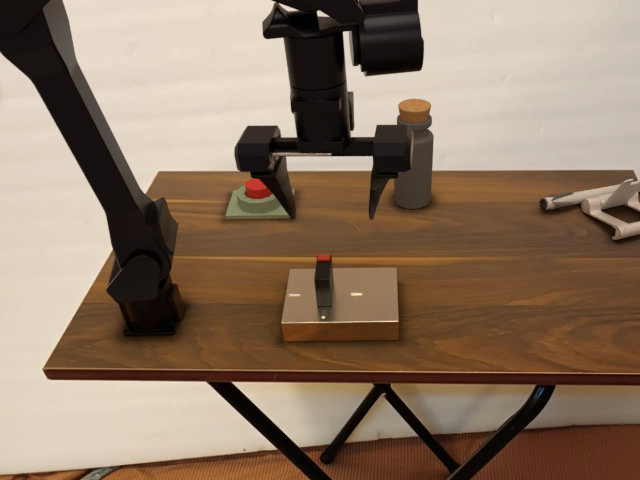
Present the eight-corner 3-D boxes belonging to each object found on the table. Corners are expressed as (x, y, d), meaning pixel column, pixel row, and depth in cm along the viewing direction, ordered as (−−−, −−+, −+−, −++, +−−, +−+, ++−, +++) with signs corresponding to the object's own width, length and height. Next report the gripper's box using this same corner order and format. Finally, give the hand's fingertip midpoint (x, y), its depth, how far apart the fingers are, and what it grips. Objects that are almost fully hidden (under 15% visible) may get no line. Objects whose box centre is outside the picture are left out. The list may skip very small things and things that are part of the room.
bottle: (387, 196, 101) (386, 101, 91) (418, 187, 103) (421, 93, 93) (405, 213, 98) (407, 116, 87) (437, 203, 100) (443, 107, 89)
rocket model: (547, 209, 95) (712, 179, 102) (543, 193, 95) (710, 164, 101) (539, 213, 97) (701, 183, 104) (536, 197, 97) (699, 169, 104)
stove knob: (331, 306, 77) (329, 277, 74) (317, 306, 77) (313, 277, 74) (333, 281, 80) (331, 253, 77) (319, 281, 80) (316, 253, 77)
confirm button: (244, 200, 97) (243, 190, 96) (248, 187, 100) (246, 177, 99) (270, 200, 97) (269, 189, 96) (273, 187, 100) (272, 177, 99)
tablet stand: (672, 226, 91) (634, 232, 99) (664, 171, 90) (627, 181, 98) (621, 238, 89) (587, 244, 97) (613, 182, 88) (579, 192, 96)
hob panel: (284, 341, 77) (280, 321, 75) (292, 287, 85) (289, 267, 83) (398, 340, 77) (398, 320, 75) (396, 285, 85) (396, 266, 82)
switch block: (225, 219, 97) (222, 205, 96) (234, 193, 103) (231, 179, 101) (290, 218, 97) (288, 204, 96) (295, 192, 103) (293, 178, 101)
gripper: (415, 50, 68) (415, 184, 79) (245, 53, 69) (269, 183, 80) (410, 90, 60) (410, 233, 71) (218, 93, 62) (248, 231, 73)
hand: (332, 217), depth 74 cm, fingers open, 9 cm apart
